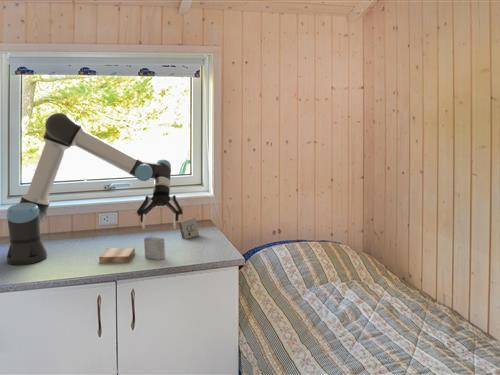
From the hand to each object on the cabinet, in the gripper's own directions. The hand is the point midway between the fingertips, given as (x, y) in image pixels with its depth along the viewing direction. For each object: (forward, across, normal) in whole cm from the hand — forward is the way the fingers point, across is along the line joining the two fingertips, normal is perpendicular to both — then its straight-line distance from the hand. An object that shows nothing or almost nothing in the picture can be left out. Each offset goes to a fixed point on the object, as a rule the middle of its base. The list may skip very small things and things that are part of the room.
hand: (158, 227), depth 184 cm
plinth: (+12, +17, -4) cm, 21 cm away
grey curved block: (+13, +1, -3) cm, 14 cm away
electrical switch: (-9, -11, -26) cm, 30 cm away
